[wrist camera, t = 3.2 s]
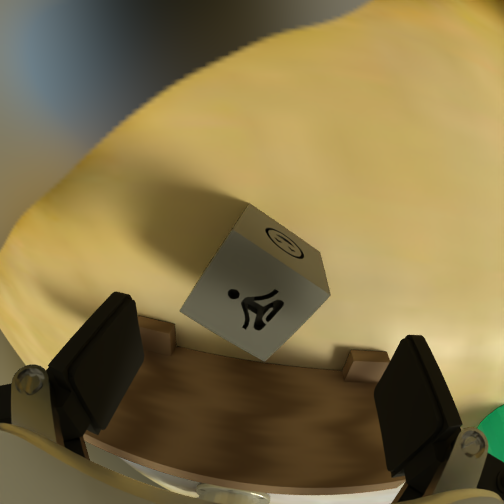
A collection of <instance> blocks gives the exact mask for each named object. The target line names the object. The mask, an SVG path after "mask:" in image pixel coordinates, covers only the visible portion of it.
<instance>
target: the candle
mask: <svg viewBox="0 0 504 504" xmlns="http://www.w3.org/2000/svg"><path fill="white" fill-rule="evenodd" d="M477 429H479V430H480V431H482V432H483V433H484V435H485V436H486V438H487V440H488V453H489V454H491V455H492V456H494V457H496V458H497V459H499V460H501V461H503V462H504V405H502V406H501V407H499V408H497V409H496V410H494V411H493V412H492V413H490V414H489V415H488V416H487V417H486V418H485V419H484V420H483V421H482V422H481V423H480V424H479V426H478V428H477Z"/></svg>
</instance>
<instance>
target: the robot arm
mask: <svg viewBox="0 0 504 504" xmlns="http://www.w3.org/2000/svg"><path fill="white" fill-rule="evenodd" d="M143 361H144V350H143V345H142V340H141V334H140V329H139V323H138V316H137V310H136V303H135V301H134V300H132V298H131V296H130V295H129V294H124V293H120V292H114V293H112V294H111V295H110V296H109V297H108V299H107V300H106V301H105V302H104V303H103V304H102V305H101V306H100V307H99V308H98V309H97V310H96V311H95V312H94V313H93V314H92V316H91V317H90V318H89V319H88V320H87V321H86V322H85V323H84V324H83V325H82V327H81V328H80V329H79V330H78V331H77V332H76V333H75V334H74V335H73V337H72V338H71V339H70V340H69V341H68V342H67V343H66V345H65V346H64V347H63V348H62V349H61V350H60V352H59V353H58V354H57V355H56V356H55V357H54V359H53V360H52V361H51V362H50V363H49V365H48V366H49V368H48V369H47V370H45V369H44V368H42V367H41V366H38V365H27V366H24V367H22V368H20V369H19V370H18V371H17V372H16V373H15V375H14V377H13V379H12V383H11V384H7V385H2V386H0V504H269V503H270V496H269V495H268V494H266V493H262V492H253V491H245V490H238V489H232V488H226V487H220V486H215V485H210V484H206V483H203V484H200V485H198V486H197V489H196V492H197V494H198V495H199V497H198V498H193V497H189V496H185V495H181V494H178V493H174V492H171V491H167V490H164V489H161V488H157V487H154V486H151V485H148V484H146V483H143V482H140V481H137V480H134V479H132V478H129V477H126V476H124V475H122V474H119V473H117V472H115V471H112V470H110V469H108V468H105V467H103V466H101V465H99V464H96V463H94V462H92V461H90V459H89V456H88V452H87V449H86V445H85V442H84V437H83V435H84V433H85V432H86V430H88V431H90V432H92V433H94V434H96V435H99V433H100V431H101V430H105V429H106V428H107V426H108V424H109V422H110V421H111V419H112V417H113V415H114V413H115V411H116V410H117V408H118V406H119V404H120V402H121V400H122V399H123V397H124V395H125V393H126V392H127V390H128V388H129V386H130V384H131V383H132V381H133V379H134V377H135V376H136V374H137V372H138V370H139V369H140V367H141V365H142V363H143ZM374 400H375V405H376V409H377V414H378V419H379V425H380V430H381V436H382V441H383V447H384V453H385V460H386V466H387V470H388V471H390V472H391V478H395V477H401V476H405V479H406V482H405V483H404V485H403V487H402V488H401V490H400V491H399V493H398V494H397V496H396V497H395V499H394V500H393V502H392V503H391V504H504V462H503V461H501V460H499V459H497V458H496V457H494V456H492V455H491V454H489V453H488V440H487V438H486V436H485V435H484V433H483V432H482V431H480V430H479V429H477V428H474V427H467V428H464V429H463V430H462V431H461V428H460V426H461V425H462V421H461V418H460V416H459V413H458V411H457V408H456V406H455V403H454V401H453V398H452V396H451V393H450V391H449V389H448V386H447V384H446V382H445V380H444V377H443V375H442V373H441V371H440V369H439V367H438V364H437V362H436V360H435V358H434V356H433V354H432V352H431V350H430V348H429V346H428V344H427V342H426V340H425V338H424V337H423V336H422V335H407V336H406V337H405V339H402V340H401V341H400V343H399V345H398V347H397V349H396V351H395V353H394V355H393V357H392V359H391V361H390V362H389V364H388V366H387V368H386V370H385V371H384V373H383V375H382V377H381V378H380V380H379V382H378V384H377V385H376V387H375V389H374Z"/></svg>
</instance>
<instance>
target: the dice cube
mask: <svg viewBox="0 0 504 504" xmlns="http://www.w3.org/2000/svg"><path fill="white" fill-rule="evenodd" d="M329 297H330V290H329V286H328V282H327V278H326V274H325V270H324V266H323V262H322V258H321V254H320V252H319V251H318V250H316V249H315V248H313V247H312V246H311V245H309V244H308V243H306V242H305V241H304V240H302V239H301V238H299V237H298V236H296V235H295V234H294V233H292V232H291V231H289V230H288V229H286V228H285V227H284V226H282V225H281V224H279V223H278V222H276V221H275V220H273V219H272V218H270V217H269V216H268V215H266V214H265V213H263V212H262V211H260V210H259V209H257V208H256V207H254V206H253V205H251V204H250V203H249V205H248V206H247V208H246V209H245V210H244V212H243V213H242V215H241V216H240V218H239V219H238V221H237V222H236V224H235V225H234V227H233V228H232V230H231V231H230V233H229V234H228V236H227V237H226V239H225V240H224V242H223V243H222V245H221V246H220V248H219V249H218V251H217V252H216V254H215V255H214V257H213V258H212V260H211V261H210V263H209V264H208V266H207V267H206V269H205V270H204V272H203V274H202V275H201V277H200V278H199V280H198V282H197V283H196V285H195V286H194V288H193V290H192V291H191V293H190V294H189V296H188V298H187V299H186V301H185V303H184V304H183V306H182V308H181V309H180V312H181V313H183V314H184V315H186V316H188V317H189V318H191V319H192V320H194V321H196V322H197V323H199V324H200V325H202V326H204V327H205V328H207V329H208V330H210V331H212V332H213V333H215V334H217V335H218V336H220V337H222V338H223V339H225V340H227V341H229V342H230V343H232V344H234V345H235V346H237V347H239V348H241V349H242V350H244V351H246V352H248V353H250V354H251V355H253V356H255V357H257V358H259V359H260V360H262V361H264V362H265V361H266V360H267V359H268V358H269V357H270V356H271V355H272V354H273V353H274V352H275V351H277V350H278V349H279V348H280V347H281V346H282V345H283V344H284V343H285V342H286V341H287V340H288V339H289V338H290V337H291V336H292V335H293V334H294V333H295V332H296V331H297V330H298V329H299V328H300V327H301V326H302V325H303V324H304V323H305V322H306V321H307V320H308V319H309V318H310V317H311V316H312V315H313V314H314V312H315V311H316V310H317V309H318V308H319V307H320V306H321V305H322V304H323V303H324V302H325V301H326V300H327V299H328V298H329Z"/></svg>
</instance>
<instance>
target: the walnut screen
mask: <svg viewBox="0 0 504 504" xmlns="http://www.w3.org/2000/svg"><path fill="white" fill-rule="evenodd" d="M138 323H139V329H140V334H141V340H142V345H143V350H144V361H143V363H142V365H141V367H140V369H139V370H138V372H137V374H136V376H135V377H134V379H133V381H132V383H131V384H130V386H129V388H128V390H127V392H126V393H125V395H124V397H123V399H122V400H121V402H120V404H119V406H118V408H117V410H116V411H115V413H114V415H113V417H112V419H111V421H110V422H109V424H108V426H107V428H106V429H105V430H101V431H100V433H99V435H96V434H94V433H92V432H90V431H88V430H86V432H85V433H84V435H83V437H84V441H86V442H88V443H90V444H92V445H94V446H96V447H98V448H101V449H103V450H105V451H107V452H110V453H112V454H114V455H117V456H119V457H121V458H124V459H126V460H129V461H132V462H134V463H137V464H140V465H142V466H145V467H148V468H151V469H154V470H157V471H160V472H163V473H167V474H170V475H174V476H177V477H181V478H185V479H189V480H193V481H197V482H201V483H206V484H210V485H215V486H220V487H226V488H232V489H238V490H245V491H253V492H262V493H273V494H289V495H337V494H352V493H363V492H372V491H379V490H386V489H392V488H397V487H398V486H400V485H401V484H402V483H404V482H405V481H406V479H405V476H401V477H395V478H391V472H390V471H388V470H387V466H386V460H385V453H384V447H383V441H382V436H381V430H380V425H379V419H378V414H377V409H376V405H375V400H374V389H375V387H376V385H377V384H378V382H379V380H380V378H381V377H382V375H383V373H384V371H385V370H386V368H387V366H388V364H389V362H390V359H389V357H388V354H387V352H378V351H361V350H351V351H350V354H349V356H348V359H347V361H346V363H345V366H344V368H343V370H342V371H338V370H324V369H313V368H303V367H293V366H285V365H277V364H269V363H262V362H255V361H249V360H243V359H237V358H231V357H225V356H220V355H215V354H210V353H205V352H200V351H195V350H190V349H186V348H181V347H177V346H176V335H175V324H172V323H168V322H163V321H159V320H155V319H151V318H146V317H142V316H138Z"/></svg>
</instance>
